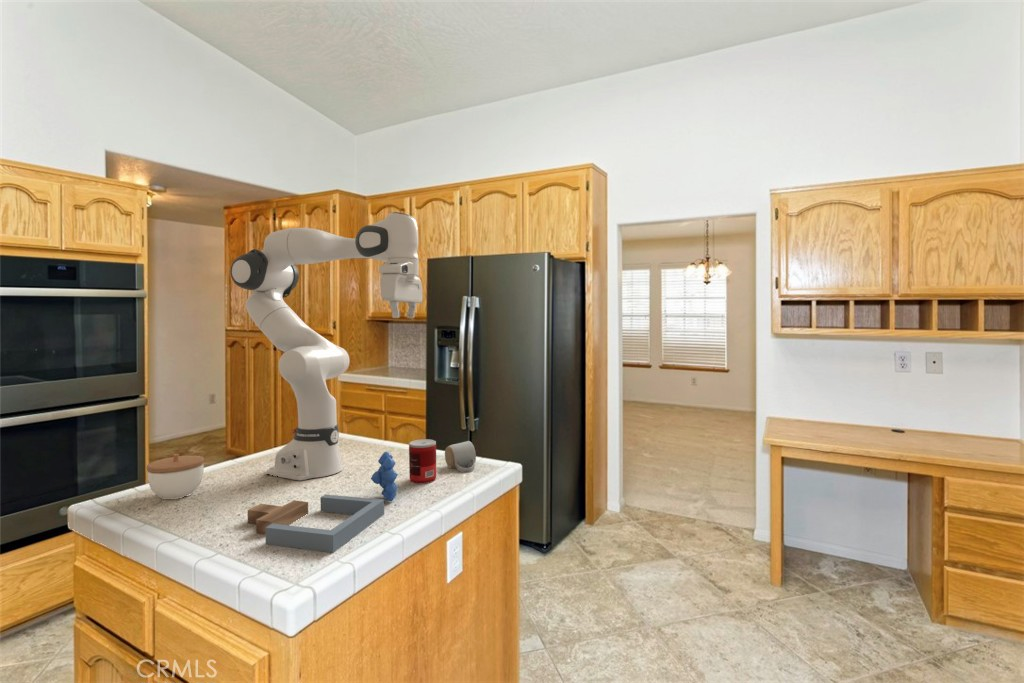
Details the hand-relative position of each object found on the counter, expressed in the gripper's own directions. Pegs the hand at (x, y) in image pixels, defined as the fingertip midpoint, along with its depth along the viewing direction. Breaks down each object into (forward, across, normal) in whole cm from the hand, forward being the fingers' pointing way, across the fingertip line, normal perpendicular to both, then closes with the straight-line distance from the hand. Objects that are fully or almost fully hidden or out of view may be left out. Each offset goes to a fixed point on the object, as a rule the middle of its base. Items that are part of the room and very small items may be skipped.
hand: (403, 318), depth 140 cm
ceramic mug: (+47, -14, +13) cm, 51 cm away
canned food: (+47, -1, +5) cm, 48 cm away
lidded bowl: (+48, +25, -54) cm, 76 cm away
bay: (+47, +35, -2) cm, 59 cm away
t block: (+47, +35, -17) cm, 61 cm away
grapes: (+47, +16, +2) cm, 50 cm away
